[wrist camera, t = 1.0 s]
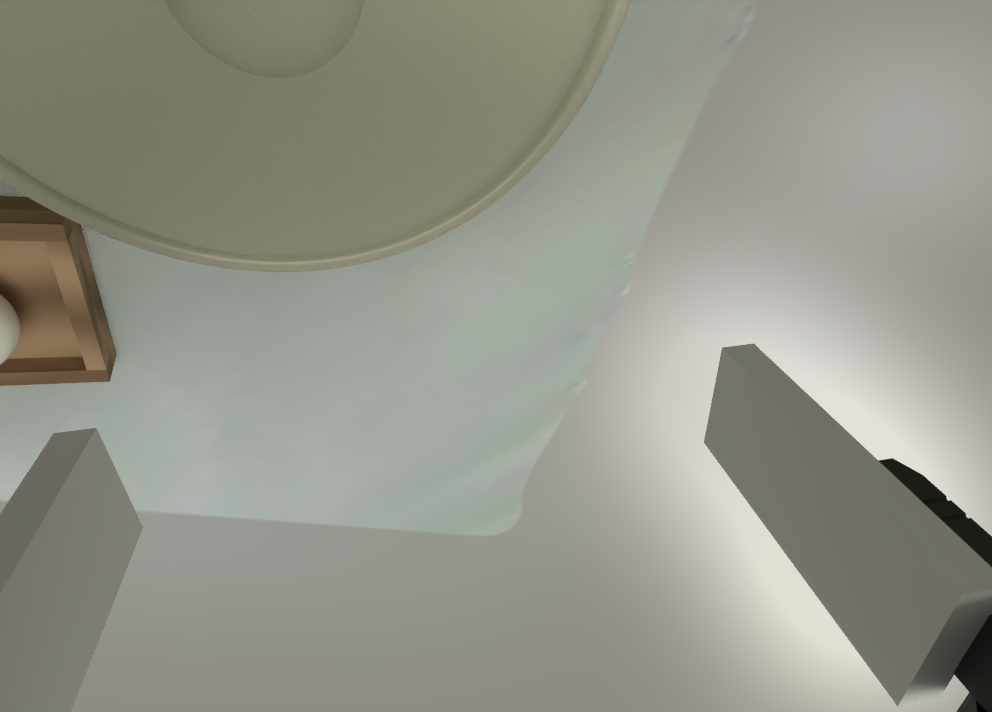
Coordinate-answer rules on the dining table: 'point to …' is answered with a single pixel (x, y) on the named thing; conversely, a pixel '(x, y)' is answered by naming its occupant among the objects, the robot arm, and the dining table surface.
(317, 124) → the canister
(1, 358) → the egg
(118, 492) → the robot arm
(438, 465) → the dining table surface
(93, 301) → the tray
